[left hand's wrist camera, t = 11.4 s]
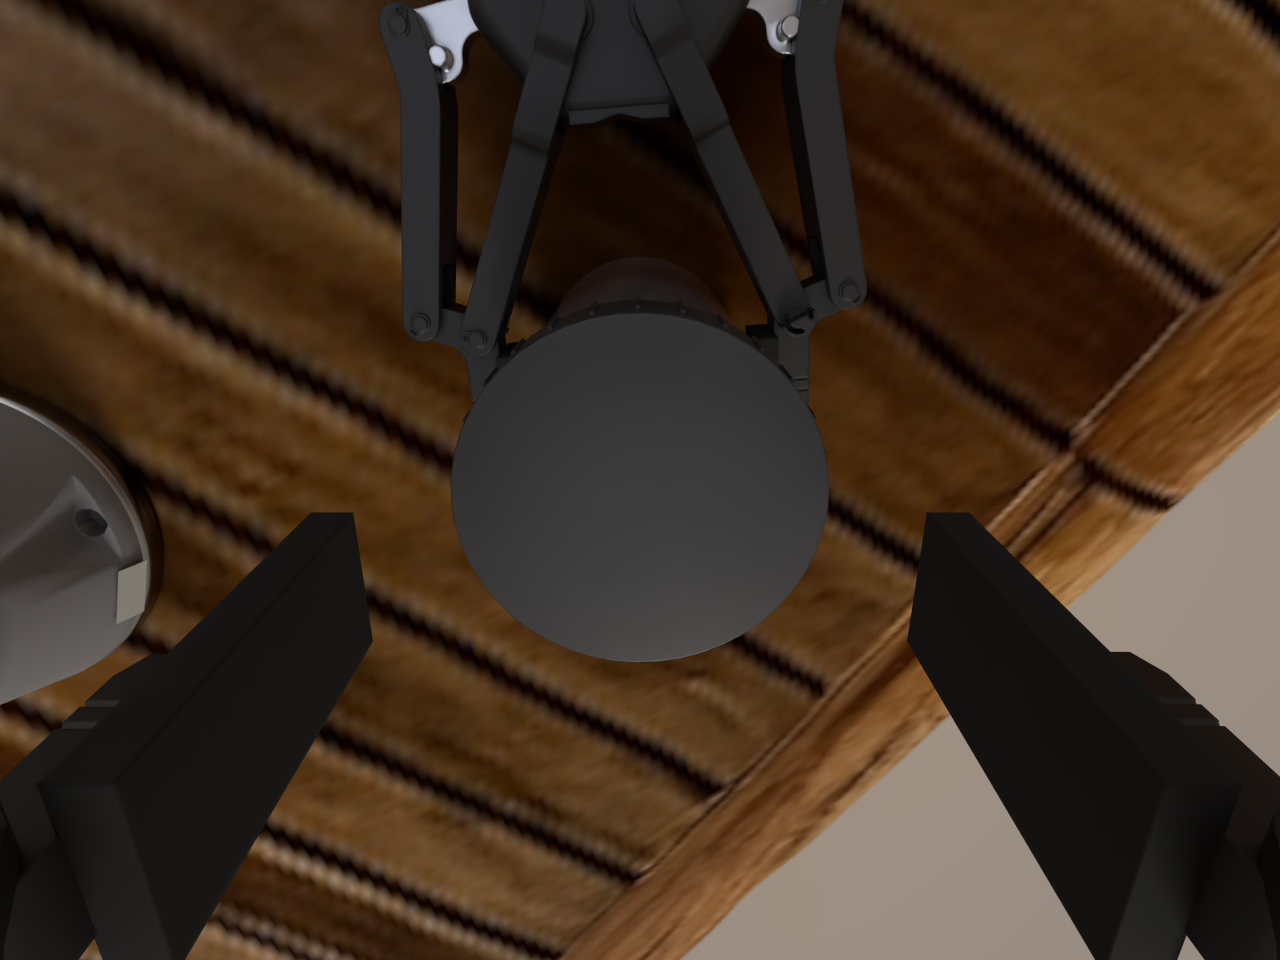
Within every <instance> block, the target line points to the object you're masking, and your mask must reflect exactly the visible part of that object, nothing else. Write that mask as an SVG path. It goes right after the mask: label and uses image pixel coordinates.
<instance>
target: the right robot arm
mask: <svg viewBox="0 0 1280 960" xmlns="http://www.w3.org/2000/svg"><path fill="white" fill-rule="evenodd" d="M843 2H844V0H445V1H442V2H438V3H435V4H432V5H428V6H425V7H421V8H418V9H413V8H412V7H410V6H409V5H408V4H405V3H403V2H400V1H398V2H391V3H389V4H387V5H386V6H385V7H384V8H383V10H382V11H381V13H380V18H379V27H380V32H381V35H382V38H383V41H384V44H385V47H386V50H387V53H388V56H389V60H390V63H391V66H392V69H393V72H394V75H395V78H396V81H397V84H398V87H399V90H400V110H401V211H402V313H403V326H404V329H405V331H406V332H407V334H408V335H409V336H410V337H412V338H413V339H415V340H418V341H428V340H431V341H435V342H438V343H442V344H446V345H449V346H451V347H454V348H455V349H457V350H458V351H459V352H460V353H461V354H462V355H463V357H464V359H465V361H466V364H467V370H468V376H469V382H470V389H471V395H472V401H473V404H474V402H475V401H476V399H477V398H478V396H479V395H480V393H481V392H482V390H483V388H484V386H482V384H483V382H484V381H485V380H486V379H487V377H488V376H489V375H490V374H491V372H492V371H493V370H494V369H495V368H497V369H499V368H500V367H501V366H502V364H503V363H504V362H505V361H506V360H507V359H508V357H509V356H510V355H511V352H512V350H513V349H514V348H515V346H516V345H517V344H518V343H519V342H514V343H508V344H507V345H506V339H505V335H506V334H507V332H508V330H509V328H507V327H508V324H509V320H510V317H511V313H512V310H513V307H514V303H515V300H516V296H517V293H518V290H519V286H520V283H521V279H522V276H523V273H524V269H525V266H526V262H527V259H528V255H529V252H530V249H531V245H532V242H533V238H534V235H535V232H536V228H537V225H538V221H539V218H540V215H541V211H542V208H543V204H544V201H545V198H546V194H547V191H548V187H549V184H550V180H551V177H552V174H553V170H554V167H555V164H556V161H557V158H558V156H559V154H560V151H561V148H562V145H563V142H564V138H565V135H566V132H567V128H568V126H569V127H572V128H573V129H574V130H579V129H591V128H599V127H601V126H604V125H606V124H609V123H611V122H614V121H617V120H620V119H622V120H627V121H632V122H637V123H641V124H653V123H665V122H668V120H669V119H671V118H674V119H675V121H676V123H677V125H678V127H679V129H680V131H681V134H682V136H683V138H684V140H685V142H686V144H687V145H688V147H689V149H690V150H691V152H692V154H693V157H694V159H695V161H696V163H697V165H698V167H699V169H700V172H701V174H702V176H703V178H704V180H705V182H706V184H707V187H708V189H709V191H710V193H711V195H712V197H713V199H714V201H715V204H716V206H717V208H718V210H719V212H720V214H721V216H722V219H723V221H724V223H725V225H726V227H727V229H728V231H729V234H730V236H731V238H732V240H733V242H734V244H735V246H736V248H737V251H738V253H739V255H740V257H741V259H742V261H743V263H744V266H745V268H746V270H747V272H748V274H749V276H750V278H751V281H752V283H753V285H754V287H755V289H756V291H757V293H758V296H759V298H760V300H761V302H762V304H763V306H764V308H765V310H766V313H767V325H766V324H759V325H746V335H748V336H749V337H750V338H751V337H752V336H753V335H754V336H755V337H756V338H757V339H758V340H759V342H760V343H761V344H762V346H763V347H764V348H765V349H766V350H765V351H766V352H767V353H768V354H769V355H770V356H771V357H772V358H773V360H774V361H775V362H776V363H777V365H778V366H779V365H780V364H782V365H783V366H784V367H785V369H786V370H787V371H788V372H789V374H790V375H791V376H792V377H793V379H794V380H795V382H793V383H792V384H793V385H794V387H795V388H796V389H797V390H798V392H799V393H800V394H801V396H802V398H803V399H804V401H805V402H806V404H807V405H808V385H809V380H808V377H809V336H810V333H811V331H812V330H813V329H814V327H815V325H816V323H817V322H818V321H819V320H821V319H823V318H824V317H826V316H829V315H831V314H833V313H836V312H838V311H840V310H842V309H844V310H847V309H853V308H855V307H857V306H859V305H860V304H861V303H862V302H863V301H864V298H865V296H866V294H867V284H866V277H865V270H864V263H863V256H862V249H861V242H860V235H859V228H858V221H857V214H856V207H855V200H854V193H853V186H852V179H851V172H850V165H849V158H848V151H847V144H846V137H845V130H844V123H843V116H842V109H841V102H840V95H839V88H838V81H837V74H836V67H835V60H834V55H835V49H836V43H837V37H838V31H839V25H840V19H841V14H842V8H843ZM742 15H748V16H751V17H752V18H754V19H755V20H756V21H757V23H758V24H759V26H760V28H761V31H762V41H763V45H764V48H765V50H766V51H767V52H768V54H770V55H771V56H773V57H775V58H780V59H781V84H782V93H783V100H784V106H785V112H786V118H787V124H788V130H789V136H790V142H791V148H792V154H793V160H794V166H795V172H796V178H797V184H798V190H799V195H800V201H801V207H802V213H803V219H804V225H805V231H806V237H807V243H808V249H809V255H810V261H811V267H812V273H813V276H811V277H809V278H807V279H804V280H802V281H799V279H798V276H797V274H796V272H795V270H794V267H793V265H792V263H791V261H790V259H789V256H788V254H787V252H786V250H785V247H784V245H783V243H782V241H781V238H780V236H779V234H778V232H777V229H776V227H775V225H774V223H773V220H772V218H771V216H770V214H769V211H768V209H767V207H766V205H765V202H764V200H763V198H762V196H761V193H760V191H759V189H758V187H757V184H756V182H755V180H754V178H753V175H752V173H751V171H750V169H749V166H748V164H747V162H746V160H745V157H744V155H743V153H742V151H741V148H740V146H739V144H738V142H737V139H736V137H735V135H734V133H733V130H732V128H731V125H730V121H729V117H728V115H727V112H726V109H725V107H724V105H723V102H722V100H721V98H720V96H719V93H718V91H717V89H716V87H715V84H714V82H713V80H712V78H711V75H710V73H709V72H710V70H711V69H712V67H713V65H714V63H715V62H716V60H717V58H718V56H719V55H720V53H721V51H722V49H723V48H724V46H725V44H726V43H727V41H728V39H729V37H730V36H731V34H732V32H733V30H734V29H735V27H736V25H737V23H738V22H739V20H740V18H741V17H742ZM483 36H484V38H485V39H486V40H487V41H488V43H489V44H490V45H491V46H492V48H493V49H494V50H495V51H496V53H497V54H498V55H499V56H500V58H501V59H502V60H503V61H504V63H505V64H506V65H507V66H508V68H509V69H510V70H511V71H512V73H513V74H514V75H515V76H516V78H517V79H518V80H519V81H520V83H521V84H522V85H523V90H522V93H521V97H520V101H519V104H518V108H517V112H516V116H515V119H514V123H513V127H512V132H511V144H510V149H509V152H508V156H507V160H506V163H505V167H504V171H503V175H502V178H501V182H500V186H499V189H498V193H497V197H496V200H495V204H494V208H493V212H492V215H491V219H490V223H489V226H488V230H487V234H486V237H485V241H484V245H483V248H482V252H481V256H480V260H479V263H478V267H477V271H476V274H475V278H474V282H473V285H472V289H471V293H470V296H469V300H468V304H467V306H465V305H461V304H458V303H455V299H456V235H457V172H458V105H457V98H456V91H455V87H454V85H457V84H459V83H461V82H462V81H463V80H464V79H465V78H466V76H467V74H468V71H469V51H470V48H471V46H472V44H473V43H474V42H475V41H476V40H477V39H479V38H481V37H483Z"/></svg>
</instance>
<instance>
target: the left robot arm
mask: <svg viewBox="0 0 1280 960" xmlns="http://www.w3.org/2000/svg"><path fill="white" fill-rule="evenodd" d="M163 567H164V562H163V548H162V541H161V536H160V532H159V528H158V525H157V522H156V519H155V516H154V514H153V511H152V509H151V507H150V504H149V502H148V500H147V498H146V496H145V494H144V493H143V491H142V489H141V488H140V486H139V484H138V482H137V481H136V480H135V478H134V477H133V475H132V474H131V473H130V471H129V470H128V468H127V467H126V466H125V465H124V464H123V462H122V461H121V460H120V459H119V458H118V456H117V455H116V454H115V453H114V452H113V451H112V450H111V449H110V448H109V447H108V446H107V445H106V444H105V443H104V442H103V441H102V440H101V439H99V438H98V437H97V436H96V435H95V434H94V433H93V432H91V431H90V430H89V429H88V428H86V427H85V426H84V425H82V424H81V423H80V422H78V421H77V420H76V419H74V418H73V417H71V416H69V415H68V414H66V413H65V412H63V411H62V410H60V409H58V408H56V407H55V406H53V405H51V404H49V403H47V402H45V401H43V400H41V399H39V398H37V397H34V396H32V395H30V394H28V393H25V392H22V391H20V390H17V389H14V388H11V387H8V386H4V385H1V384H0V705H1V704H3V703H6V702H8V701H11V700H13V699H16V698H18V697H21V696H23V695H26V694H28V693H30V692H33V691H35V690H38V689H40V688H42V687H45V686H47V685H49V684H52V683H54V682H57V681H60V680H63V679H65V678H68V677H70V676H73V675H75V674H77V673H79V672H81V671H83V670H85V669H87V668H88V667H90V666H92V665H94V664H96V663H98V662H99V661H101V660H102V659H104V658H105V657H107V656H108V655H110V654H111V653H112V652H113V651H114V650H115V649H116V648H118V647H119V646H120V645H121V644H122V643H123V642H124V641H126V640H127V639H128V638H129V637H130V636H131V635H132V634H134V633H135V632H136V631H137V630H138V629H139V627H140V626H141V625H142V624H143V623H144V622H145V620H146V619H147V617H148V616H149V614H150V613H151V611H152V609H153V607H154V605H155V603H156V601H157V598H158V595H159V592H160V588H161V583H162V579H163ZM372 642H373V639H372V632H371V626H370V619H369V613H368V606H367V600H366V593H365V587H364V580H363V574H362V567H361V561H360V554H359V548H358V541H357V535H356V528H355V522H354V515H353V513H310V514H309V515H308V516H307V517H306V518H305V519H304V520H303V521H302V522H301V523H300V524H299V525H298V526H297V527H296V528H295V529H294V530H293V531H292V532H291V533H290V534H289V535H288V536H287V537H286V538H285V539H284V540H283V541H282V542H281V543H280V544H279V545H278V546H277V547H276V548H275V549H274V550H273V551H272V552H271V553H270V554H269V555H268V556H267V557H265V558H264V559H263V560H262V561H261V562H260V563H259V564H258V565H257V566H256V567H255V568H254V569H253V570H252V571H251V572H250V573H249V574H248V575H247V576H246V577H245V578H244V579H243V580H242V581H241V582H240V583H239V584H238V585H237V586H236V587H235V588H234V589H233V590H232V591H231V592H230V593H229V594H228V595H227V596H226V597H225V598H224V599H223V600H222V601H221V602H220V603H219V604H218V605H217V606H216V607H215V608H214V609H213V610H212V611H211V612H210V613H209V614H208V615H207V616H206V617H205V618H204V619H203V620H202V621H200V622H199V623H198V624H197V625H196V626H195V627H194V628H193V629H192V630H191V631H190V632H189V633H188V634H187V635H186V636H185V637H184V638H183V639H182V640H181V641H180V642H179V643H178V644H177V645H176V646H175V647H174V648H173V649H172V650H171V651H170V652H169V653H168V654H151V655H149V656H147V657H146V658H144V659H142V660H140V661H139V662H137V663H135V664H133V665H132V666H130V667H128V668H126V669H125V670H123V671H121V672H119V673H118V674H116V675H114V676H113V677H112V678H111V679H109V680H108V681H107V682H106V683H105V684H104V685H103V686H102V687H101V688H100V689H99V690H98V691H96V692H95V693H94V694H93V695H92V696H91V697H90V698H89V699H88V700H87V701H86V702H85V706H84V707H79V708H78V709H77V710H76V711H75V712H74V713H73V714H72V715H71V716H69V717H68V718H67V719H66V720H65V721H64V722H63V723H62V728H61V729H55V730H54V731H53V732H52V733H51V734H50V735H49V736H48V737H47V738H46V739H45V740H44V741H42V742H41V743H40V744H39V745H38V746H37V747H36V748H35V749H34V750H33V751H32V752H31V753H29V754H28V755H27V756H26V757H25V758H24V759H23V760H22V761H21V762H20V763H19V764H18V765H17V766H15V767H14V768H13V769H12V770H11V771H10V772H9V773H8V774H7V775H6V776H5V777H4V778H2V779H1V780H0V960H79V958H80V957H81V956H82V954H83V953H84V951H85V950H86V949H87V947H88V946H89V945H90V943H91V942H92V940H93V939H94V938H95V941H96V943H97V946H98V948H99V951H100V954H101V956H102V959H103V960H185V959H186V957H187V955H188V954H189V952H190V950H191V949H192V947H193V945H194V943H195V942H196V940H197V938H198V937H199V935H200V933H201V932H202V930H203V928H204V927H205V925H206V923H207V921H208V920H209V918H210V916H211V915H212V913H213V911H214V910H215V908H216V906H217V905H218V903H219V901H220V899H221V898H222V896H223V894H224V893H225V891H226V889H227V888H228V886H229V884H230V882H231V881H232V879H233V877H234V876H235V874H236V872H237V871H238V869H239V867H240V866H241V864H242V862H243V860H244V859H245V857H246V855H247V854H248V852H249V850H250V849H251V847H252V845H253V844H254V842H255V840H256V838H257V837H258V835H259V833H260V832H261V830H262V828H263V827H264V825H265V823H266V821H267V820H268V818H269V816H270V815H271V813H272V811H273V810H274V808H275V806H276V805H277V803H278V801H279V799H280V798H281V796H282V794H283V793H284V791H285V789H286V788H287V786H288V784H289V783H290V781H291V779H292V777H293V776H294V774H295V772H296V771H297V769H298V767H299V766H300V764H301V762H302V760H303V759H304V757H305V755H306V754H307V752H308V750H309V749H310V747H311V745H312V744H313V742H314V740H315V738H316V737H317V735H318V733H319V732H320V730H321V728H322V727H323V725H324V723H325V722H326V720H327V718H328V716H329V715H330V713H331V711H332V710H333V708H334V706H335V705H336V703H337V701H338V699H339V698H340V696H341V694H342V693H343V691H344V689H345V688H346V686H347V684H348V683H349V681H350V679H351V677H352V676H353V674H354V672H355V671H356V669H357V667H358V666H359V664H360V662H361V661H362V659H363V657H364V655H365V654H366V652H367V650H368V649H369V647H370V645H371V644H372ZM907 642H908V644H909V645H910V647H911V649H912V650H913V652H914V654H915V655H916V657H917V659H918V661H919V662H920V664H921V666H922V667H923V669H924V671H925V672H926V674H927V676H928V677H929V679H930V681H931V683H932V684H933V686H934V688H935V689H936V691H937V693H938V694H939V696H940V698H941V700H942V701H943V703H944V705H945V706H946V708H947V710H948V711H949V713H950V715H951V716H952V718H953V720H954V722H955V723H956V725H957V727H958V728H959V730H960V732H961V733H962V735H963V737H964V738H965V740H966V742H967V744H968V745H969V747H970V749H971V750H972V752H973V754H974V755H975V757H976V759H977V760H978V762H979V764H980V766H981V767H982V769H983V771H984V772H985V774H986V776H987V777H988V779H989V781H990V783H991V784H992V786H993V788H994V789H995V791H996V793H997V794H998V796H999V798H1000V799H1001V801H1002V803H1003V805H1004V806H1005V808H1006V810H1007V811H1008V813H1009V815H1010V816H1011V818H1012V820H1013V821H1014V823H1015V825H1016V827H1017V828H1018V830H1019V832H1020V833H1021V835H1022V837H1023V838H1024V840H1025V842H1026V843H1027V845H1028V847H1029V849H1030V850H1031V852H1032V854H1033V855H1034V857H1035V859H1036V860H1037V862H1038V864H1039V866H1040V867H1041V869H1042V871H1043V872H1044V874H1045V876H1046V877H1047V879H1048V881H1049V882H1050V884H1051V886H1052V888H1053V889H1054V891H1055V893H1056V894H1057V896H1058V898H1059V899H1060V901H1061V903H1062V904H1063V906H1064V908H1065V910H1066V911H1067V913H1068V915H1069V916H1070V918H1071V920H1072V921H1073V923H1074V925H1075V927H1076V928H1077V930H1078V932H1079V933H1080V935H1081V937H1082V938H1083V940H1084V942H1085V943H1086V945H1087V947H1088V949H1089V950H1090V952H1091V954H1092V955H1093V957H1094V959H1095V960H1177V959H1178V956H1179V954H1180V951H1181V948H1182V946H1183V943H1184V941H1185V938H1186V935H1187V936H1188V938H1189V939H1190V940H1191V942H1192V943H1193V944H1194V946H1195V947H1196V949H1197V950H1198V951H1199V953H1200V954H1201V956H1202V957H1203V958H1204V960H1280V776H1278V775H1277V774H1276V773H1275V772H1274V771H1273V770H1272V769H1271V768H1270V767H1269V766H1268V765H1267V764H1265V763H1264V762H1263V761H1262V760H1261V759H1260V758H1259V757H1258V756H1257V755H1256V754H1255V753H1253V752H1252V751H1251V750H1250V749H1249V748H1248V747H1247V746H1246V745H1245V744H1244V743H1243V742H1242V741H1240V740H1239V739H1238V738H1237V737H1236V736H1235V735H1234V734H1233V733H1232V732H1231V731H1230V730H1228V729H1227V728H1226V727H1225V726H1220V725H1219V720H1218V719H1217V718H1215V717H1214V716H1213V715H1212V714H1211V713H1210V712H1209V711H1208V710H1207V709H1206V708H1205V707H1203V706H1202V705H1201V704H1196V702H1195V698H1194V697H1193V696H1191V695H1190V694H1189V693H1188V692H1187V691H1186V690H1185V689H1184V688H1183V687H1182V686H1181V685H1180V684H1178V683H1177V682H1176V681H1175V680H1174V679H1173V678H1172V677H1171V676H1170V675H1169V674H1167V673H1166V672H1164V671H1162V670H1160V669H1159V668H1157V667H1155V666H1153V665H1152V664H1150V663H1148V662H1146V661H1145V660H1143V659H1141V658H1139V657H1138V656H1136V655H1134V654H1132V653H1131V652H1110V651H1109V650H1108V649H1107V648H1106V647H1105V646H1104V645H1103V644H1102V643H1101V642H1100V641H1099V640H1098V639H1097V638H1096V637H1095V636H1094V635H1093V634H1092V633H1091V632H1090V631H1089V630H1088V629H1087V628H1086V627H1085V626H1084V625H1083V624H1082V623H1081V622H1079V621H1078V620H1077V619H1076V618H1075V617H1074V616H1073V615H1072V614H1071V613H1070V612H1069V611H1068V610H1067V609H1066V608H1065V607H1064V606H1063V605H1062V604H1061V603H1060V602H1059V601H1058V600H1057V599H1056V598H1055V597H1054V596H1053V595H1052V594H1051V593H1050V592H1049V591H1048V590H1047V589H1046V588H1045V587H1044V586H1043V585H1042V584H1041V583H1040V582H1039V581H1038V580H1037V579H1036V578H1035V577H1034V576H1033V575H1032V574H1031V573H1030V572H1029V571H1028V570H1027V569H1026V568H1025V567H1024V566H1023V565H1022V564H1021V563H1020V562H1019V561H1018V560H1017V559H1016V558H1015V557H1013V556H1012V555H1011V554H1010V553H1009V552H1008V551H1007V550H1006V549H1005V548H1004V547H1003V546H1002V545H1001V544H1000V543H999V542H998V541H997V540H996V539H995V538H994V537H993V536H992V535H991V534H990V533H989V532H988V531H987V530H986V529H985V528H984V527H983V526H982V525H981V524H980V523H979V522H978V521H977V520H976V519H975V518H974V517H973V516H972V515H971V514H970V513H927V515H926V522H925V528H924V535H923V541H922V548H921V554H920V561H919V567H918V574H917V580H916V587H915V593H914V600H913V606H912V613H911V619H910V626H909V632H908V639H907Z"/></svg>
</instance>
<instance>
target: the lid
mask: <svg viewBox="0 0 1280 960" xmlns="http://www.w3.org/2000/svg"><path fill="white" fill-rule="evenodd" d="M765 350H766V349H765V348H764V347H763V346H762V344H761V343H760V342H759V340H758V339H757V338H756V337H755V336H754V335H753V336H752V337H751V338H750V337H749V336H748V335H746V334H745V333H743V332H742V331H741V330H739V329H738V328H737V327H735V326H733V325H731V324H729V323H728V322H726V321H725V320H724V318H723V316H722V315H720V314H717V316H715V315H712V314H709V313H707V312H704V311H701V310H699V309H696V308H693V307H689V306H685V305H683V302H682V301H680V300H678V301H677V304H676V303H672V302H666V301H655V300H640V296H635V300H621V301H615V302H609V303H604V304H598V302H597V301H596V302H593V304H592V306H591V307H588V308H585V309H581V310H578V311H575V312H572V313H570V314H568V315H566V316H564V317H562V318H560V319H559V317H558V316H556V317H554V318H553V320H552V321H551V323H550V324H548V325H547V326H545V327H544V328H542V329H541V330H539V331H538V332H536V333H535V334H533V335H532V336H531V337H529V338H528V339H527V340H526V341H525V340H524V338H523V339H521V340H520V341H519V343H518V344H517V345H516V346H515V348H514V349H513V350H512V352H511V355H510V356H509V357H508V359H507V360H506V361H505V362H504V363H503V364H502V366H501V367H500V368H499V369H497V368H495V369H494V370H493V371H492V372H491V374H490V375H489V376H488V377H487V379H486V380H485V381H484V382H483V384H482V386H484V388H483V390H482V392H481V393H480V395H479V396H478V398H477V399H476V401H475V402H474V404H473V406H472V407H471V409H470V410H469V412H468V413H467V414H466V416H465V417H464V419H463V421H462V422H464V424H463V426H462V429H461V431H460V435H459V438H458V442H457V445H456V448H455V452H454V456H453V465H452V472H451V502H452V509H453V516H454V522H455V525H456V529H457V532H458V536H459V539H460V543H461V545H462V547H463V550H464V552H465V554H466V556H467V559H468V561H469V563H470V565H471V566H472V568H473V570H474V571H475V573H476V575H477V576H478V578H479V580H480V581H481V583H482V584H483V585H484V587H485V588H486V589H487V590H488V591H489V593H490V594H491V595H492V596H493V598H494V599H495V600H496V601H497V602H498V603H499V604H500V605H501V606H502V607H503V608H504V609H505V610H506V611H507V612H508V613H509V614H510V615H511V616H513V617H514V618H515V619H517V620H518V621H519V622H521V623H522V624H523V625H525V626H526V627H527V628H529V629H530V630H532V631H533V632H535V633H537V634H539V635H540V636H542V637H544V638H545V639H547V640H549V641H551V642H553V643H556V644H558V645H560V646H563V647H565V648H567V649H569V650H573V651H576V652H579V653H582V654H586V655H589V656H593V657H598V658H603V659H609V660H615V661H629V662H652V661H664V660H670V659H677V658H683V657H686V656H690V655H694V654H698V653H702V652H704V651H707V650H710V649H712V648H715V647H717V646H720V645H723V644H725V643H727V642H728V641H730V640H732V639H734V638H736V637H738V636H740V635H742V634H744V633H745V632H746V631H748V630H749V629H751V628H752V627H754V626H755V625H757V624H758V623H760V622H761V621H762V620H763V619H765V618H766V617H767V616H768V615H769V614H770V613H771V612H773V611H774V610H775V609H776V608H777V607H778V606H779V605H780V604H781V603H782V602H783V601H784V600H785V598H786V597H787V596H788V595H789V594H790V593H791V592H792V591H793V589H794V588H795V586H796V585H797V583H798V582H799V581H800V579H801V578H802V576H803V575H804V573H805V572H806V570H807V568H808V566H809V564H810V562H811V560H812V558H813V556H814V554H815V552H816V550H817V547H818V544H819V541H820V538H821V536H822V533H823V530H824V525H825V520H826V515H827V510H828V498H829V476H828V464H827V458H826V452H825V450H824V445H823V441H822V437H821V435H820V432H819V430H818V427H817V425H816V422H815V420H814V418H815V417H816V416H815V414H814V413H813V411H812V410H811V409H810V407H809V406H808V405H807V404H806V402H805V401H804V399H803V398H802V396H801V394H800V393H799V392H798V390H797V389H796V388H795V387H794V385H793V384H792V383H793V382H795V380H794V379H793V377H792V376H791V375H790V374H789V372H788V371H787V370H786V369H785V367H784V366H783V365H782V364H780V365H779V366H778V365H777V363H776V362H775V361H774V360H773V358H772V357H771V356H770V355H769V354H768V353H767V352H766V351H765Z"/></svg>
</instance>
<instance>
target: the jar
mask: <svg viewBox="0 0 1280 960" xmlns="http://www.w3.org/2000/svg"><path fill="white" fill-rule="evenodd" d="M635 296H640V300H655V301H666V302H672V303H676V304H677V301H678V300H680V301H682V302H683V305H685V306H689V307H693V308H696V309H699V310H701V311H704V312H707V313H709V314H712V315H715V316H717V314H720V315H722V316H723V318H724V320H725V321H726V322H728V323H729V324H731V325H733V326H735V327H736V325H735V324H734V323H733V321H732V320H731V318H730V317H729V315H728V314H727V313H726V311H725V310H724V308H723V307H722V305H721V304H720V302H719V301H718V300H717V298H716V297H715V295H714V294H713V293H712V292H711V290H710V289H709V288H708V287H707V286H706V285H705V284H704V283H703V282H702V281H701V280H700V279H699V278H698V277H697V276H695V275H694V274H693V273H691V272H690V271H688V270H686V269H685V268H683V267H681V266H679V265H677V264H674V263H672V262H669V261H666V260H662V259H658V258H652V257H628V258H622V259H617V260H614V261H611V262H608V263H605V264H603V265H601V266H599V267H597V268H595V269H593V270H592V271H590V272H589V273H587V274H586V275H584V276H583V277H582V278H581V279H580V280H579V281H578V282H576V283H575V284H574V286H573V287H572V288H571V289H570V290H569V291H568V293H567V294H566V295H565V297H564V298H563V300H562V301H561V302H560V304H559V305H558V307H557V308H556V310H555V311H554V313H553V314H552V315H551V317H550V318H549V320H548V321H547V323H546V324H545V325H544V327H545V326H547V325H548V324H550V323H551V321H552V320H553V318H554V317H556V316H558V317H559V319H560V318H562V317H564V316H566V315H568V314H570V313H572V312H575V311H578V310H581V309H585V308H588V307H591V306H592V304H593V302H596V301H597V302H598V304H604V303H609V302H615V301H621V300H635ZM544 327H543V328H544Z"/></svg>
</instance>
